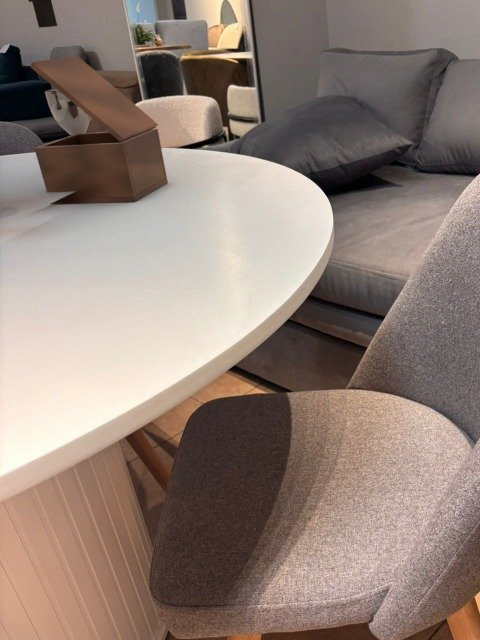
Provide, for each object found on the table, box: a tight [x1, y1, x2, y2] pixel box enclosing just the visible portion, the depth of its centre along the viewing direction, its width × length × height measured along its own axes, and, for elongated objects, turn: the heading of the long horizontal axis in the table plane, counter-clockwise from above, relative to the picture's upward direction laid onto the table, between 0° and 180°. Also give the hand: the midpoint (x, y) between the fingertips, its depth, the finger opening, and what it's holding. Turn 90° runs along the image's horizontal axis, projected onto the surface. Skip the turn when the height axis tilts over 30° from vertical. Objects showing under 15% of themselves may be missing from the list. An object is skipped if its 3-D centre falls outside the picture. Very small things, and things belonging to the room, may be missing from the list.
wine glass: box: [44, 88, 93, 136], centre depth 123 cm, size 8×8×15 cm
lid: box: [29, 55, 159, 142], centre depth 100 cm, size 16×13×1 cm
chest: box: [33, 128, 169, 205], centre depth 106 cm, size 16×13×9 cm
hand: (48, 26), depth 97 cm, fingers closed
